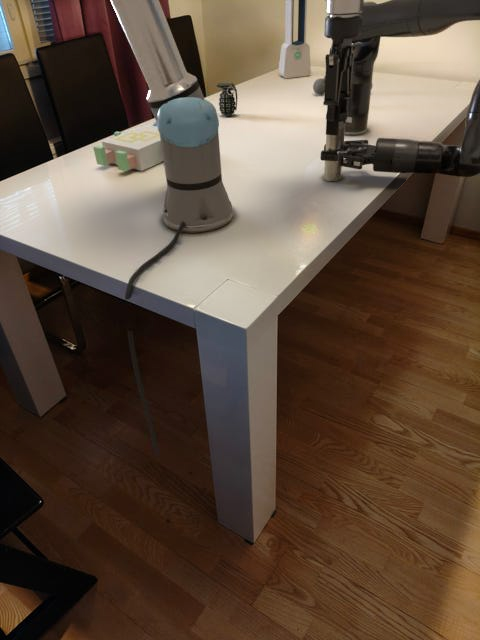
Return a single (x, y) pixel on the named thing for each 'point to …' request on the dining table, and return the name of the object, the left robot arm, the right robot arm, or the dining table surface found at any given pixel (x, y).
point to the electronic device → (295, 44)
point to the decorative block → (132, 149)
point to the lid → (342, 115)
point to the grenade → (227, 99)
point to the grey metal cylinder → (334, 144)
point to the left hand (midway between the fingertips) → (335, 130)
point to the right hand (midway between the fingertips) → (322, 151)
